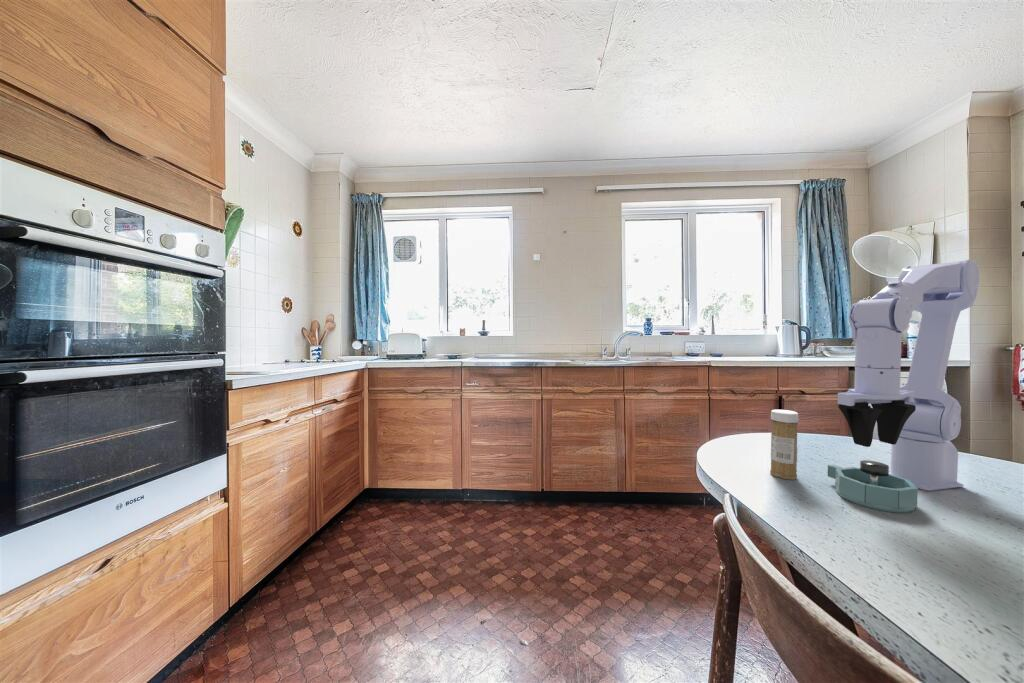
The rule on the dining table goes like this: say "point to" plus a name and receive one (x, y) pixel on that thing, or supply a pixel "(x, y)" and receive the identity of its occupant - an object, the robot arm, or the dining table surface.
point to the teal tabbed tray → (874, 490)
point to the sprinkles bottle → (784, 444)
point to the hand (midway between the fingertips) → (874, 444)
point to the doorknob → (874, 470)
